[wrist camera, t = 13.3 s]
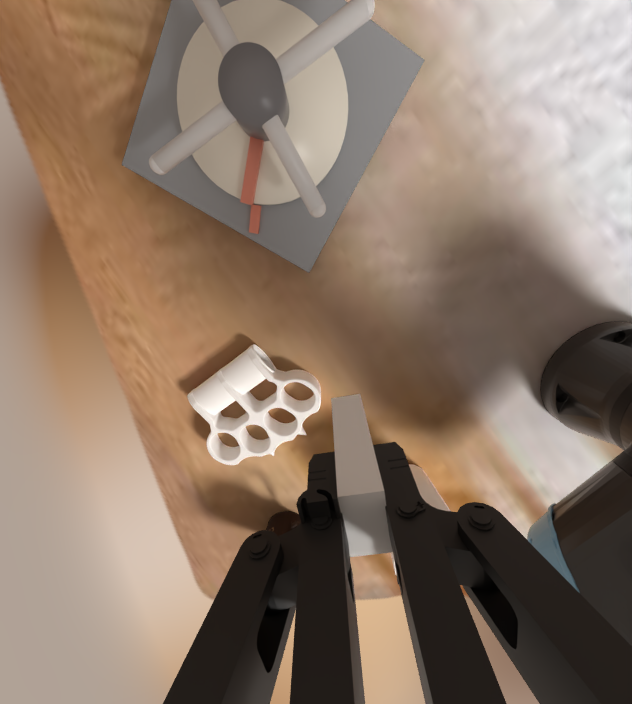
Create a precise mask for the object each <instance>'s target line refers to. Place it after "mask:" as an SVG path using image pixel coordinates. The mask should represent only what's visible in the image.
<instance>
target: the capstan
mask: <svg viewBox="0 0 632 704" xmlns="http://www.w3.org/2000/svg"><path fill="white" fill-rule="evenodd" d="M192 1H193V2H194V4H195V6H196V8H197V10H198V11H199V13H200V15H201V17H202V19H203V20H204V22H203V23H202V24H201V25H200V27H199V28H198V29H197V31H196V32H195V33H194V35H193V37H192V38H191V40H190V42H189V44H188V46H187V48H186V51H185V53H184V56H183V58H182V62H181V66H180V70H179V75H178V83H177V107H178V115H179V120H180V125H181V129H182V132H181V133H180V134H179V135H177V136H176V137H175V138H174V139H172V140H171V141H170V142H168V143H167V144H166V145H165V146H163V147H162V148H161V149H159V150H158V151H157V152H156V153H154V154H153V155H152V156H151V157H150V159H149V165H150V167H151V169H152V170H153V171H154V172H155V173H156V174H159V175H164V174H166V173H167V172H169V171H170V170H171V169H173V168H174V167H175V166H177V165H178V164H179V163H181V162H182V161H183V160H185V159H186V158H187V157H189V156H190V155H191V154H192V155H193V157H194V159H195V161H196V162H197V164H198V165H199V166H200V168H201V169H202V171H203V172H204V173H205V174H206V175H207V176H208V177H209V178H210V180H212V181H213V182H214V183H215V184H216V185H217V186H218V187H220V188H221V189H223V190H224V191H226V192H227V193H229V194H231V195H233V196H235V197H237V198H239V199H241V200H240V202H241V203H245V204H248V205H252V206H253V204H259V205H277V204H283V203H287V202H291V201H293V200H296V199H298V198H300V197H301V198H302V200H303V202H304V204H305V206H306V207H307V209H308V211H309V213H310V214H311V215H312V216H313V217H315V218H319V217H322V216H323V215H324V213H325V211H326V205H325V203H324V201H323V199H322V197H321V195H320V193H319V191H318V189H317V188H316V186H317V185H318V184H319V183H320V182H321V181H322V180H323V179H324V178H325V176H326V175H327V174H328V172H329V171H330V170H331V168H332V166H333V165H334V163H335V161H336V159H337V157H338V155H339V152H340V150H341V147H342V144H343V140H344V137H345V132H346V127H347V120H348V92H347V85H346V80H345V76H344V72H343V68H342V65H341V63H340V60H339V58H338V55H337V53H336V51H335V49H334V46H336V45H337V44H338V43H340V42H341V41H342V40H344V39H345V38H346V37H348V36H349V35H350V34H352V33H353V32H354V31H356V30H357V29H358V28H360V27H361V26H362V25H364V24H365V23H366V22H368V21H369V20H370V19H371V17H372V15H373V13H374V9H375V2H374V0H351V1H350V2H349V3H347V4H346V5H345V6H343V7H342V8H341V9H340V10H338V11H337V12H336V13H334V14H333V15H332V16H331V17H329V18H328V19H327V20H325V21H324V22H323V23H322V24H320V25H319V26H318V25H317V24H316V23H315V22H314V20H312V19H311V18H310V17H309V16H308V15H306V14H305V13H304V12H302V11H301V10H299V9H298V8H296V7H294V6H293V5H290V4H288V3H286V2H283V1H281V0H236V1H233V2H231V3H229V4H227V5H225V6H223V7H220V5H219V3H218V1H217V0H192Z"/></svg>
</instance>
